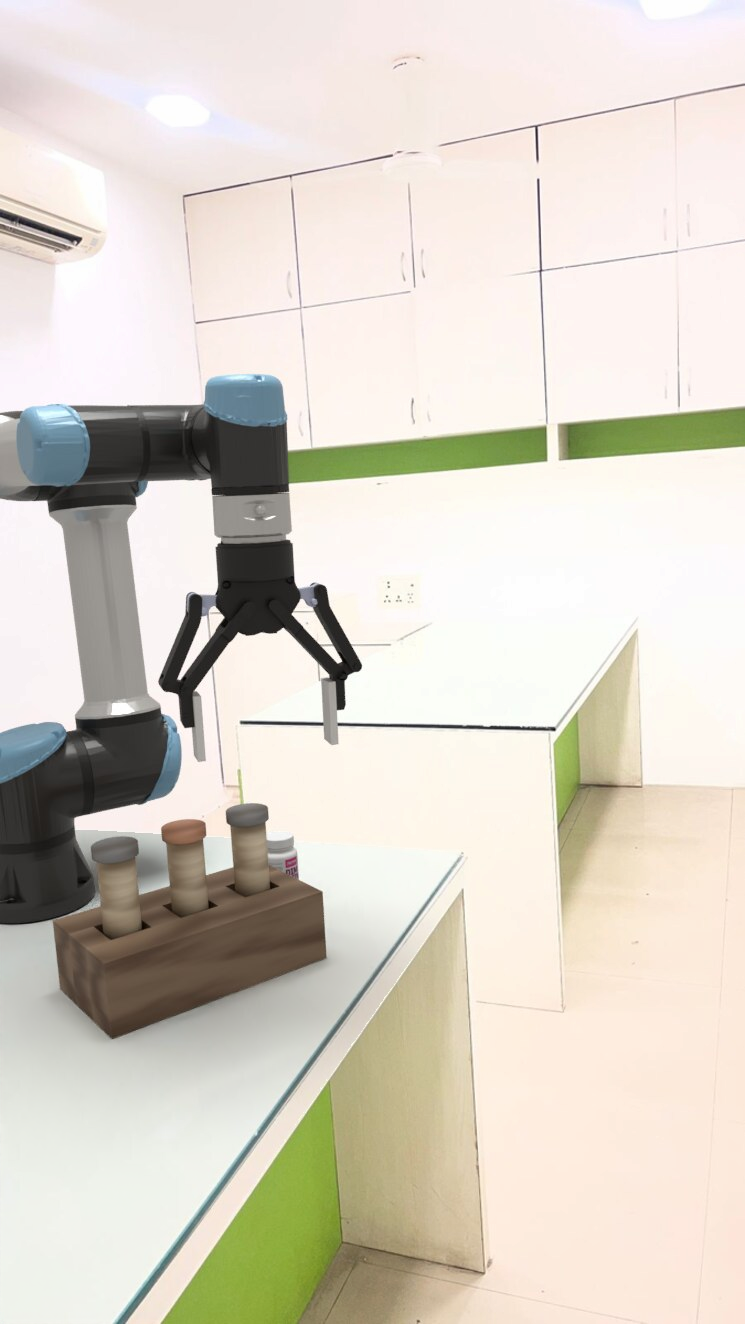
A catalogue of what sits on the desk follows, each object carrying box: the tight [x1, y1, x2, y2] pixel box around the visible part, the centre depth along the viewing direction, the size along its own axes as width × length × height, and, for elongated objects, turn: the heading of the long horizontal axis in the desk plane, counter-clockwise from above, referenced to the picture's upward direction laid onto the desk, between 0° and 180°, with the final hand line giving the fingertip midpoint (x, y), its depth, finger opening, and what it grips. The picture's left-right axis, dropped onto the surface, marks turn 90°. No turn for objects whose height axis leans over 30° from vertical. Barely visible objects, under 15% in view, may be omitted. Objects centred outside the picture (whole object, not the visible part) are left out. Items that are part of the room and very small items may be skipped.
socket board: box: [52, 865, 328, 1040], centre depth 116 cm, size 14×26×8 cm, turn 127°
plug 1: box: [90, 836, 142, 940], centre depth 110 cm, size 5×5×12 cm
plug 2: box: [225, 802, 270, 897], centre depth 119 cm, size 5×5×12 cm
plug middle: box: [160, 818, 209, 918], centre depth 114 cm, size 5×5×12 cm
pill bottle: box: [266, 830, 300, 880], centre depth 136 cm, size 5×5×8 cm
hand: (266, 750), depth 105 cm, fingers open, 13 cm apart
